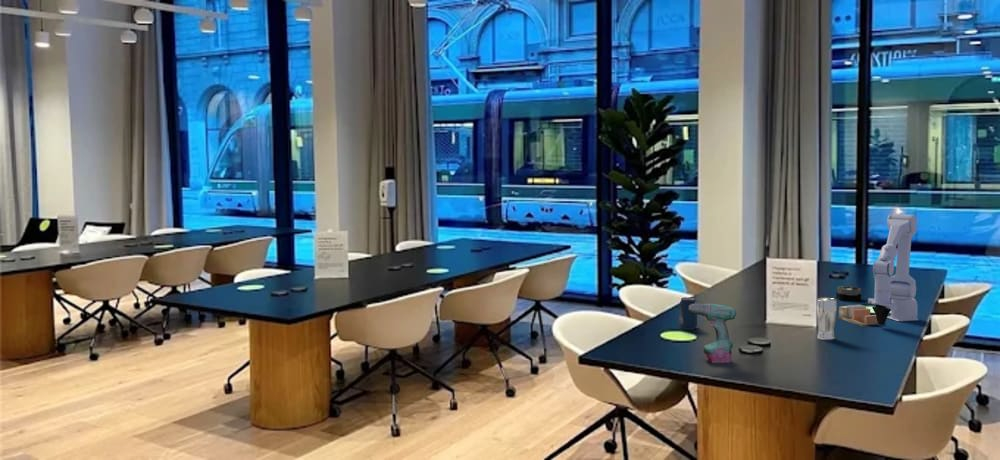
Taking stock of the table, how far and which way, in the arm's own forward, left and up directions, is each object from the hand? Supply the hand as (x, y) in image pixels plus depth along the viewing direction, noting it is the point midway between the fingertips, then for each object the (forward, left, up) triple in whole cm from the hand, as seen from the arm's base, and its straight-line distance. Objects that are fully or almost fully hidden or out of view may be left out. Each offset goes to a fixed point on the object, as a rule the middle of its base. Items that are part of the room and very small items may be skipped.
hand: (881, 324), depth 316 cm
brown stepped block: (0, -10, -1) cm, 10 cm away
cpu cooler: (-24, -56, -2) cm, 60 cm away
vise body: (0, -12, -1) cm, 12 cm away
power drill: (+85, +27, -2) cm, 90 cm away
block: (0, -16, -2) cm, 16 cm away
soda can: (+72, -21, -2) cm, 75 cm away
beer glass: (+30, +9, -2) cm, 32 cm away
